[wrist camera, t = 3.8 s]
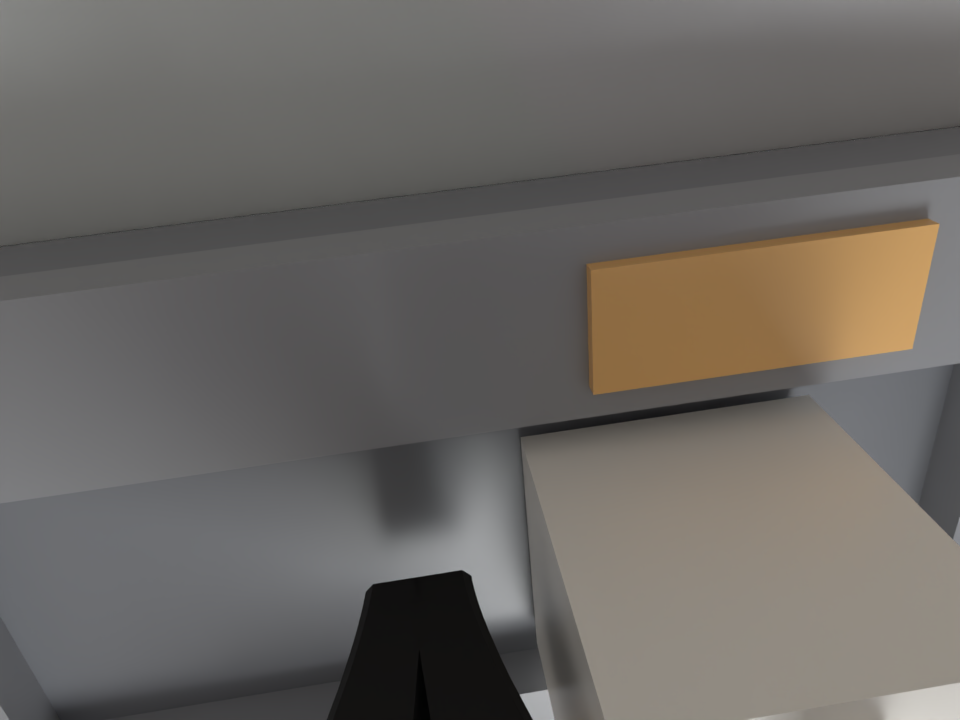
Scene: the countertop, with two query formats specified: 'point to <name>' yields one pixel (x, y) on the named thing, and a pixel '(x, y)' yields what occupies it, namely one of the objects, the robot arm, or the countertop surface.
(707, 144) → the countertop surface
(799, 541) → the tab
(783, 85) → the countertop surface
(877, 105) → the countertop surface
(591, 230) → the switch board
